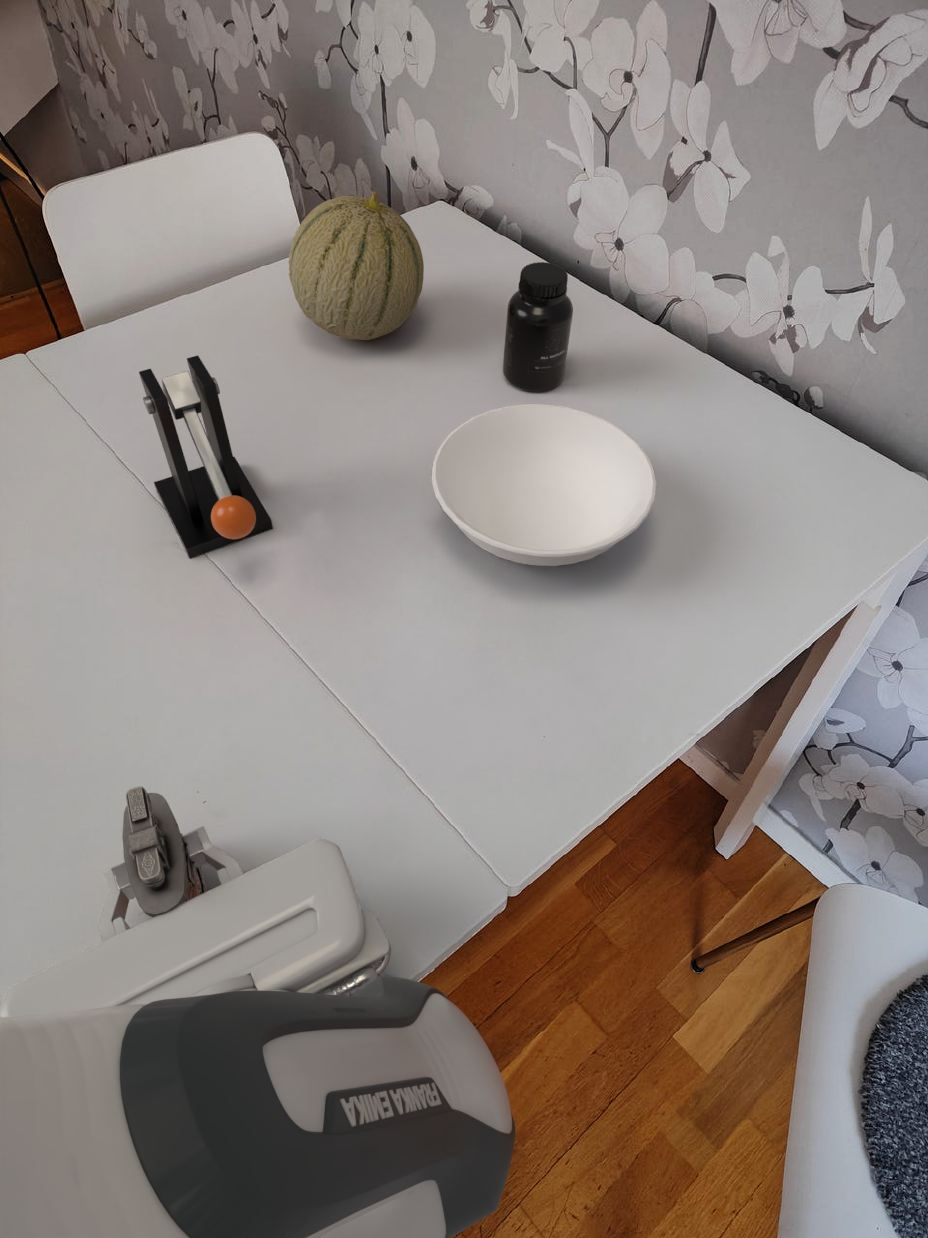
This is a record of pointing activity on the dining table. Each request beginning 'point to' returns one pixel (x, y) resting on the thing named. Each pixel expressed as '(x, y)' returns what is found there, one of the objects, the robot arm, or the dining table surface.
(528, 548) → the bowl
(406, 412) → the dining table surface
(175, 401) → the switch
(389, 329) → the cantaloupe
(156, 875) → the lighter
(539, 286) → the supplement bottle
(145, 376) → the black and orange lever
